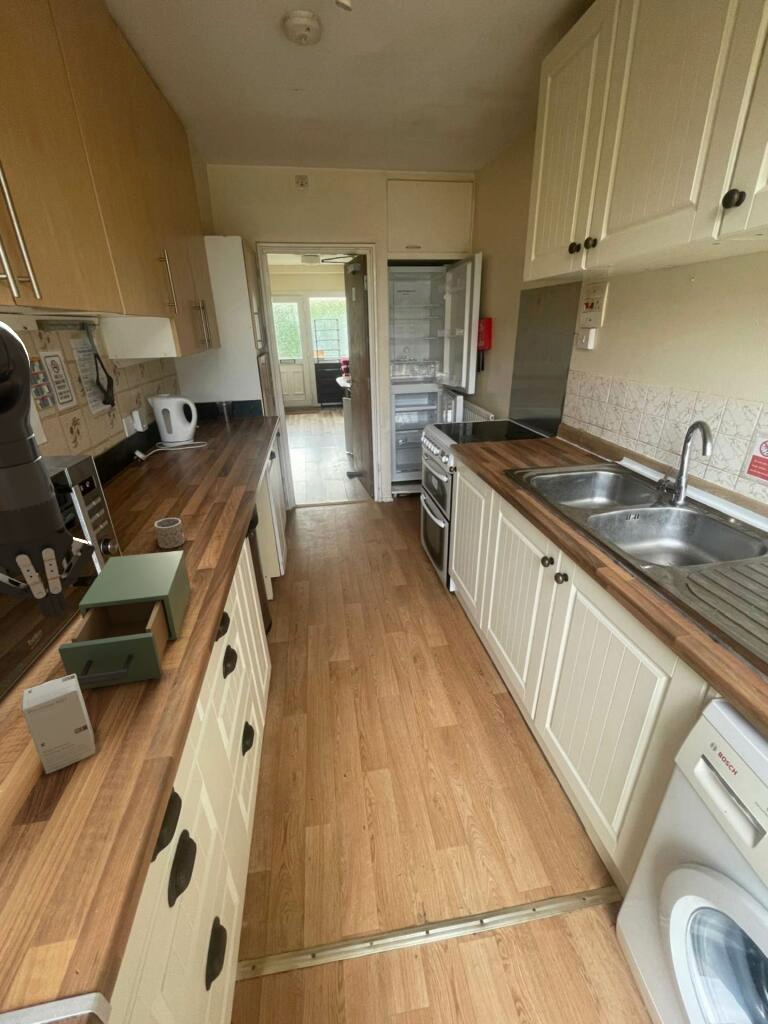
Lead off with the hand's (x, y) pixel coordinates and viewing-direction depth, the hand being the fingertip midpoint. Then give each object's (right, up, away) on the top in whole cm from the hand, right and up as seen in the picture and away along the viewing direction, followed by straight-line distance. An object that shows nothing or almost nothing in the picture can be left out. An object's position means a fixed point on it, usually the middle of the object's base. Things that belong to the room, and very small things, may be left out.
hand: (56, 615), depth 58 cm
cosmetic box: (-1, -21, +4) cm, 22 cm away
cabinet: (-6, -9, +33) cm, 34 cm away
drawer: (-2, -13, +20) cm, 24 cm away
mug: (-17, +5, +64) cm, 66 cm away
